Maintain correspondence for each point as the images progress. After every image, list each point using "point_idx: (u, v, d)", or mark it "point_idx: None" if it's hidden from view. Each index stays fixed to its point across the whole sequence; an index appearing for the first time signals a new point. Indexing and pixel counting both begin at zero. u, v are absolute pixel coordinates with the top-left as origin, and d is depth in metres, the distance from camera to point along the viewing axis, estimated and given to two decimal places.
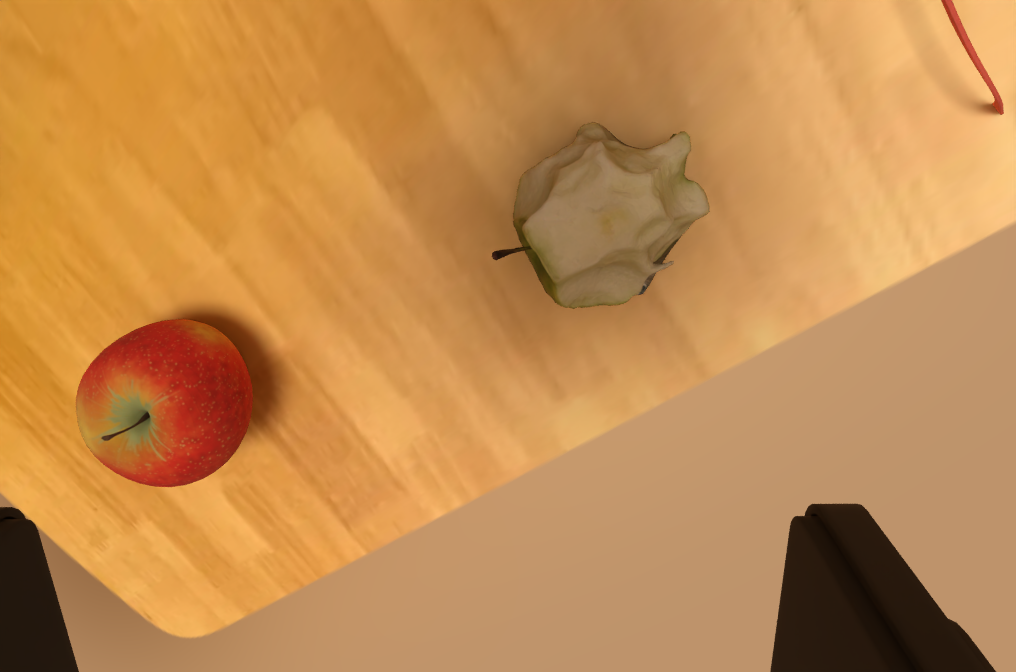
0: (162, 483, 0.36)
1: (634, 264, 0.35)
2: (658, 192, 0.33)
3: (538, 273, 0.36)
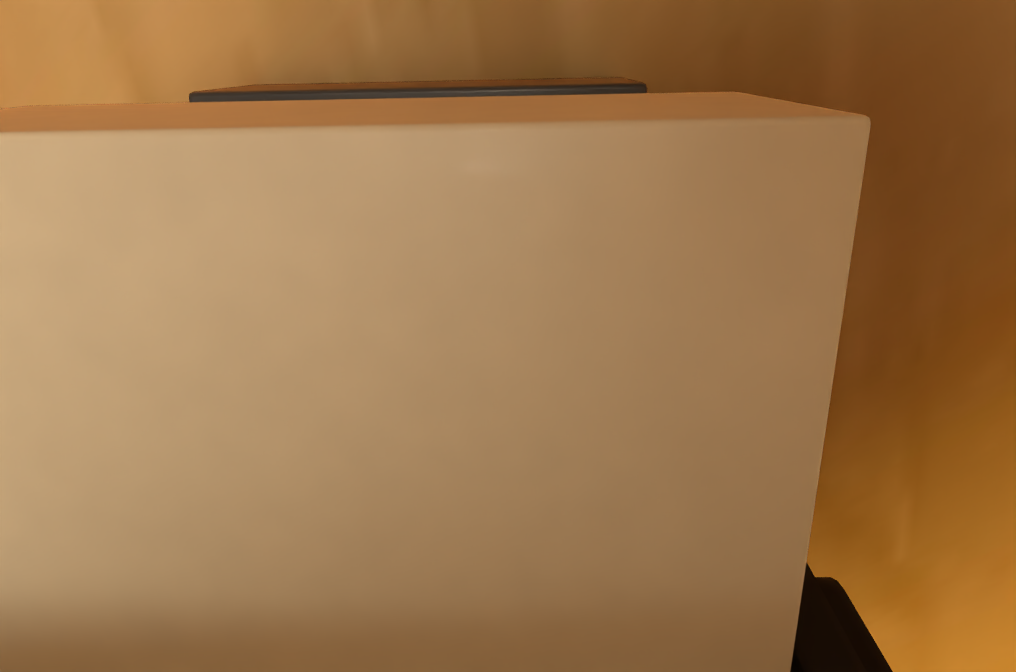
0: None
1: None
2: None
3: None
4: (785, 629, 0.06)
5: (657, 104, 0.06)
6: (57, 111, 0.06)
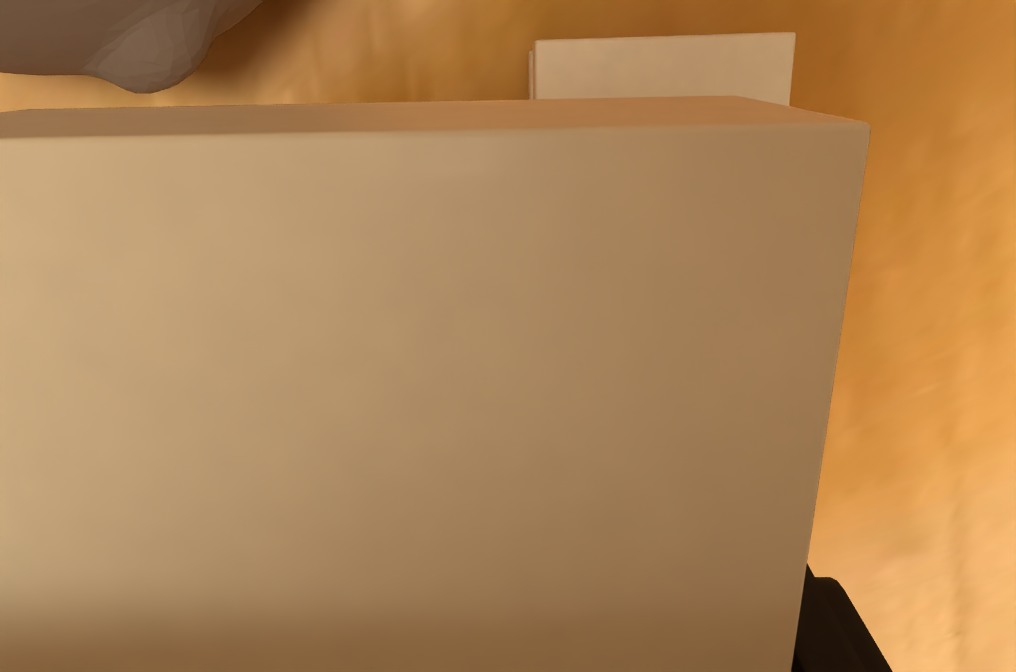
0: None
1: None
2: None
3: None
4: (785, 636, 0.06)
5: (656, 109, 0.06)
6: (54, 116, 0.06)
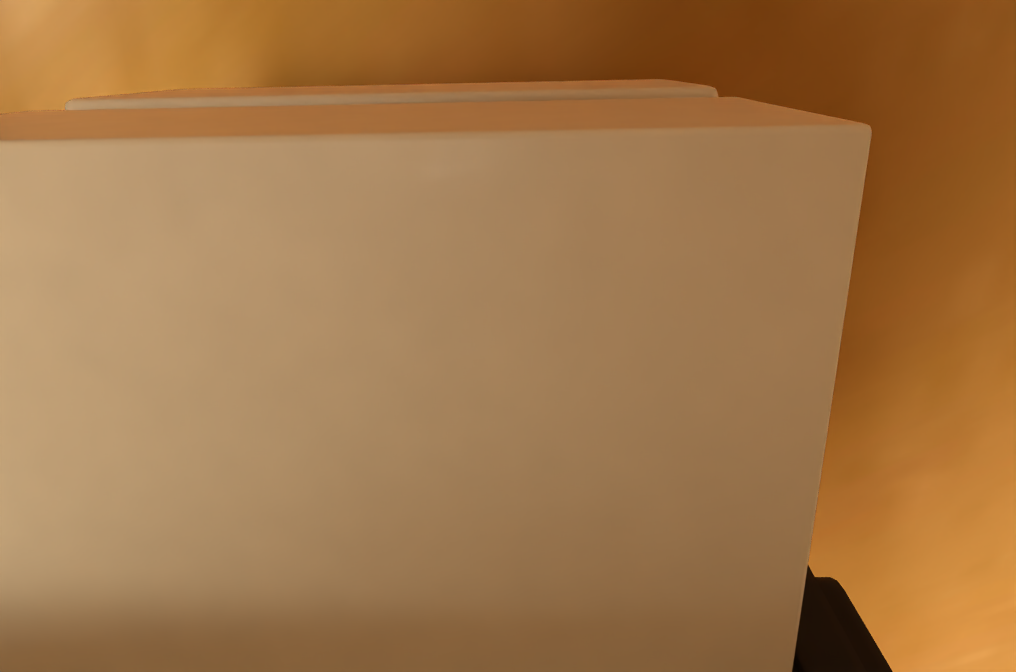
0: None
1: None
2: None
3: None
4: (785, 638, 0.06)
5: (657, 111, 0.06)
6: (56, 117, 0.06)
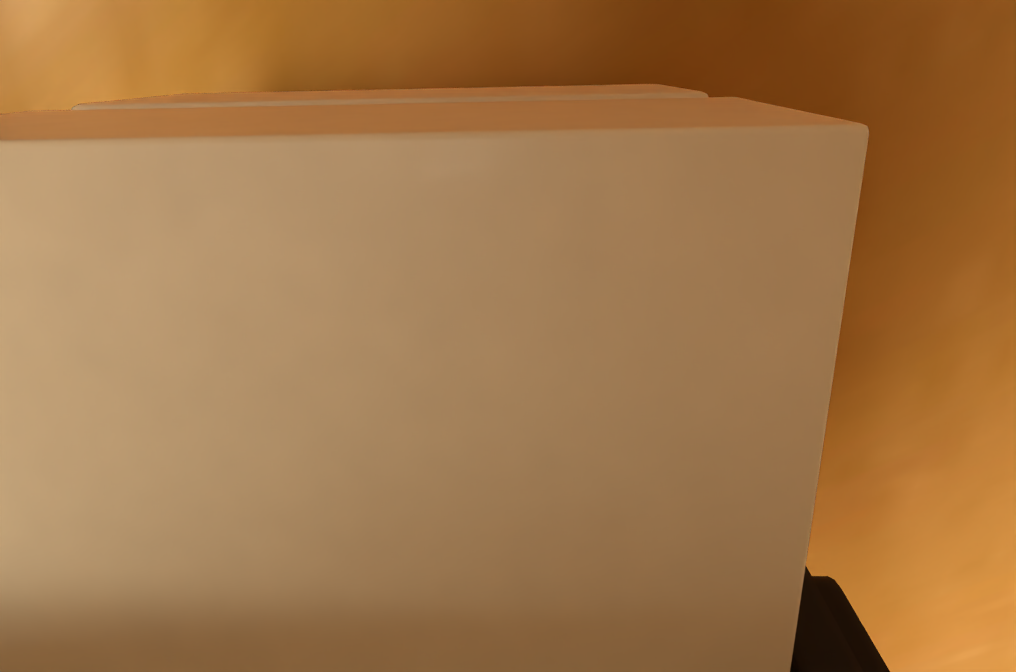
0: None
1: None
2: None
3: None
4: (784, 636, 0.06)
5: (656, 111, 0.06)
6: (57, 117, 0.06)
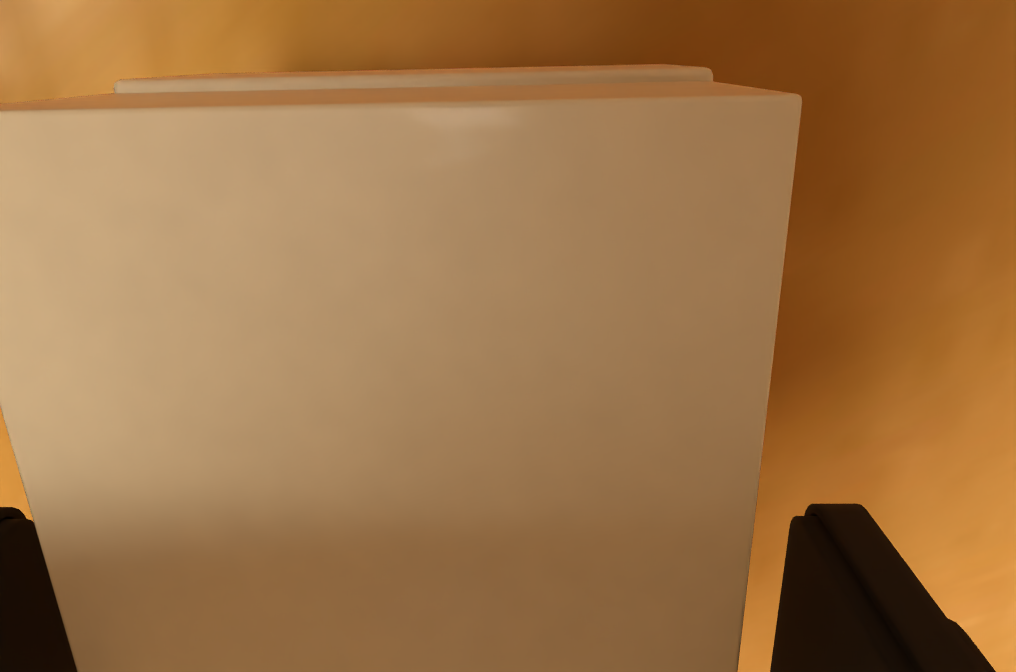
0: None
1: None
2: None
3: None
4: (745, 517, 0.07)
5: (640, 89, 0.07)
6: (145, 96, 0.08)
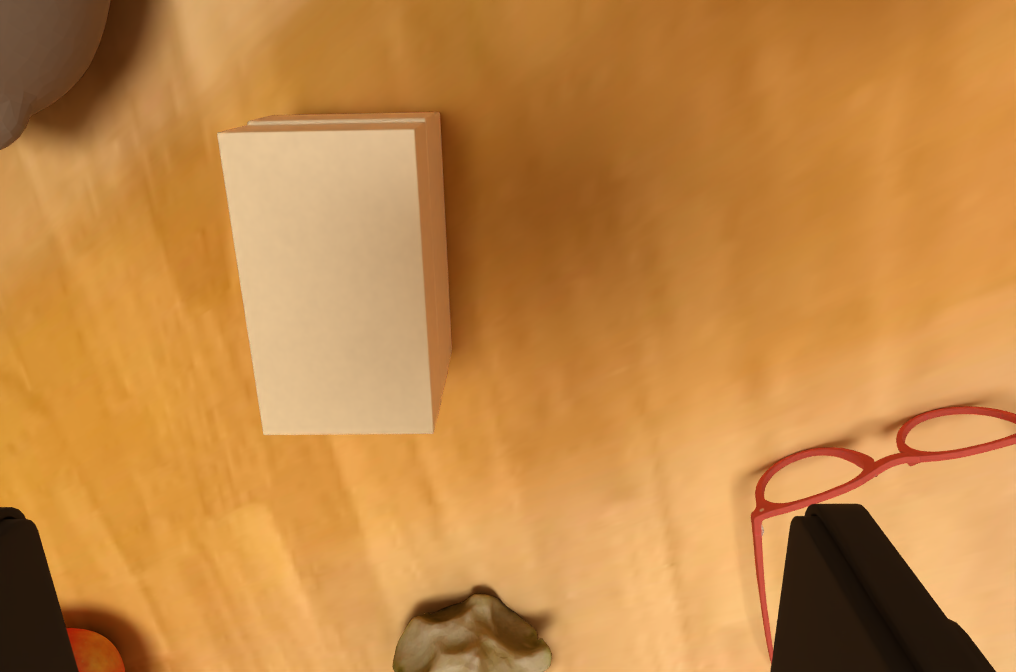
0: None
1: None
2: None
3: None
4: (418, 236, 0.27)
5: (390, 126, 0.27)
6: (261, 127, 0.28)
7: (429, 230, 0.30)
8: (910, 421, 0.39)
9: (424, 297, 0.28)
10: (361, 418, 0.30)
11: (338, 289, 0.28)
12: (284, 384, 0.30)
